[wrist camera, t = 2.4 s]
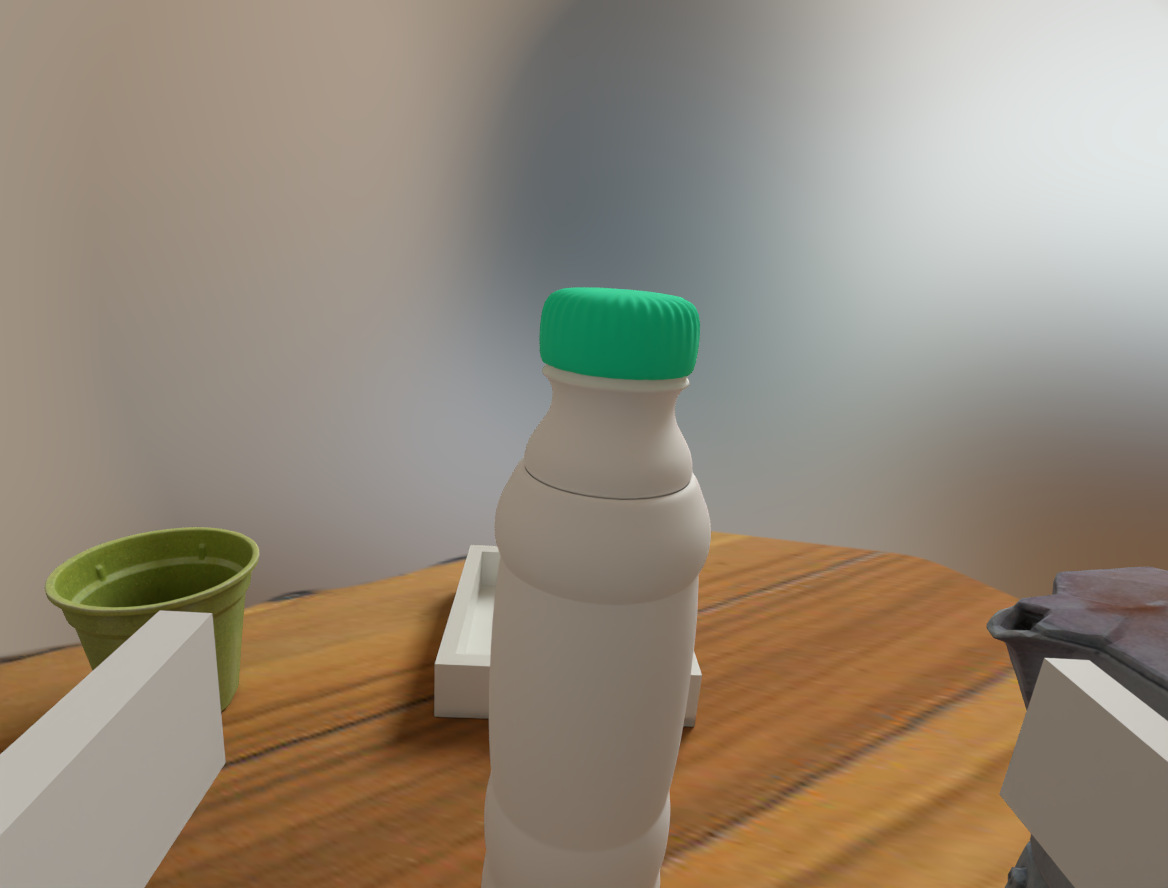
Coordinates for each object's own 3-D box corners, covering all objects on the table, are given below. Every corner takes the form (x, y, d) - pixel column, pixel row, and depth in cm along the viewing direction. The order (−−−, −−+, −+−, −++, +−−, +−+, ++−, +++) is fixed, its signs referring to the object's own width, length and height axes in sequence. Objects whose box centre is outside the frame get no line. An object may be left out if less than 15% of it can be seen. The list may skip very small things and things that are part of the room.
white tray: (657, 594, 52) (662, 555, 51) (694, 726, 38) (701, 675, 37) (469, 585, 51) (470, 545, 50) (434, 716, 37) (434, 664, 36)
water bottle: (510, 1052, 22) (555, 298, 15) (460, 872, 28) (476, 276, 21) (687, 972, 25) (797, 308, 18) (607, 825, 31) (665, 286, 24)
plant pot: (38, 713, 35) (9, 568, 33) (211, 634, 43) (198, 512, 40) (128, 794, 31) (103, 633, 28) (303, 689, 39) (295, 556, 36)
